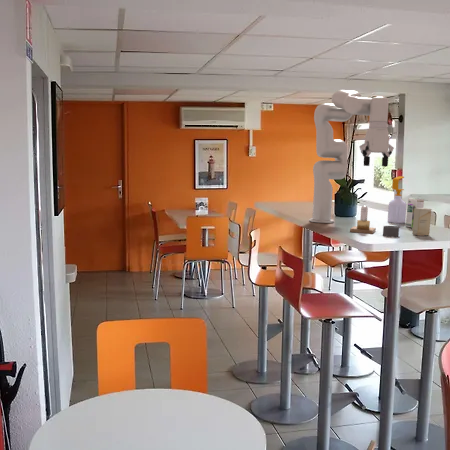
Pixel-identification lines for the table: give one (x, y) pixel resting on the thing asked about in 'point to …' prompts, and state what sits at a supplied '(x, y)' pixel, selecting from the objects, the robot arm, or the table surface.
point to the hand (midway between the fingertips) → (375, 166)
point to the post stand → (363, 223)
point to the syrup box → (412, 210)
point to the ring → (391, 231)
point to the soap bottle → (397, 205)
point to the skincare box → (421, 221)
